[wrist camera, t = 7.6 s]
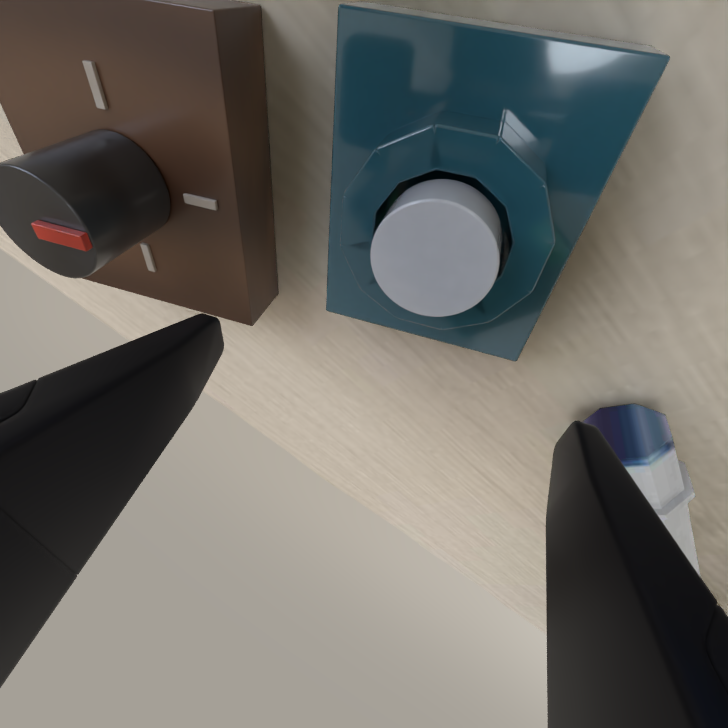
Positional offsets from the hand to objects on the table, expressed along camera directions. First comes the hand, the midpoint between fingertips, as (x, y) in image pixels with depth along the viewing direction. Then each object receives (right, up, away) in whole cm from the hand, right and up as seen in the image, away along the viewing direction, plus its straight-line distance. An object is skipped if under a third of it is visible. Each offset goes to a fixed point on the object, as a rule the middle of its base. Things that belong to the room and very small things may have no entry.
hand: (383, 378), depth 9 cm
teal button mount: (+3, +7, +7) cm, 11 cm away
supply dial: (-10, +8, +8) cm, 15 cm away
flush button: (+2, +5, +5) cm, 7 cm away
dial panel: (-9, +10, +10) cm, 17 cm away
